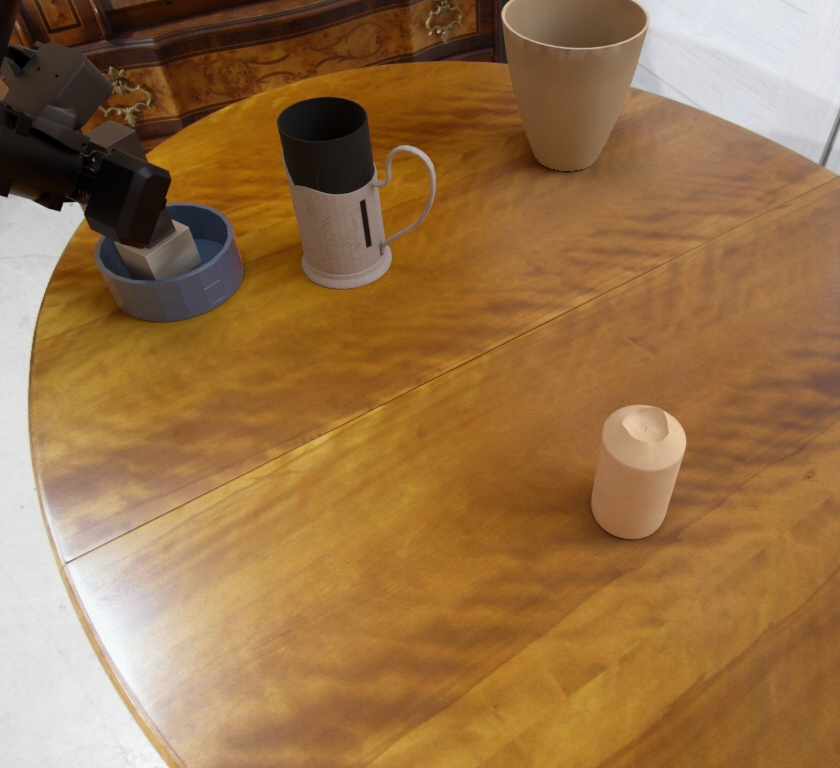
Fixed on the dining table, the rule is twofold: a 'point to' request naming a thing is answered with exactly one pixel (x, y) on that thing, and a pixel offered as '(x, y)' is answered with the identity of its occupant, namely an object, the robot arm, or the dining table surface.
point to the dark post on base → (170, 238)
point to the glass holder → (339, 191)
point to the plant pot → (571, 72)
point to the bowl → (187, 291)
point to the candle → (636, 470)
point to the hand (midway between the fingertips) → (151, 198)
